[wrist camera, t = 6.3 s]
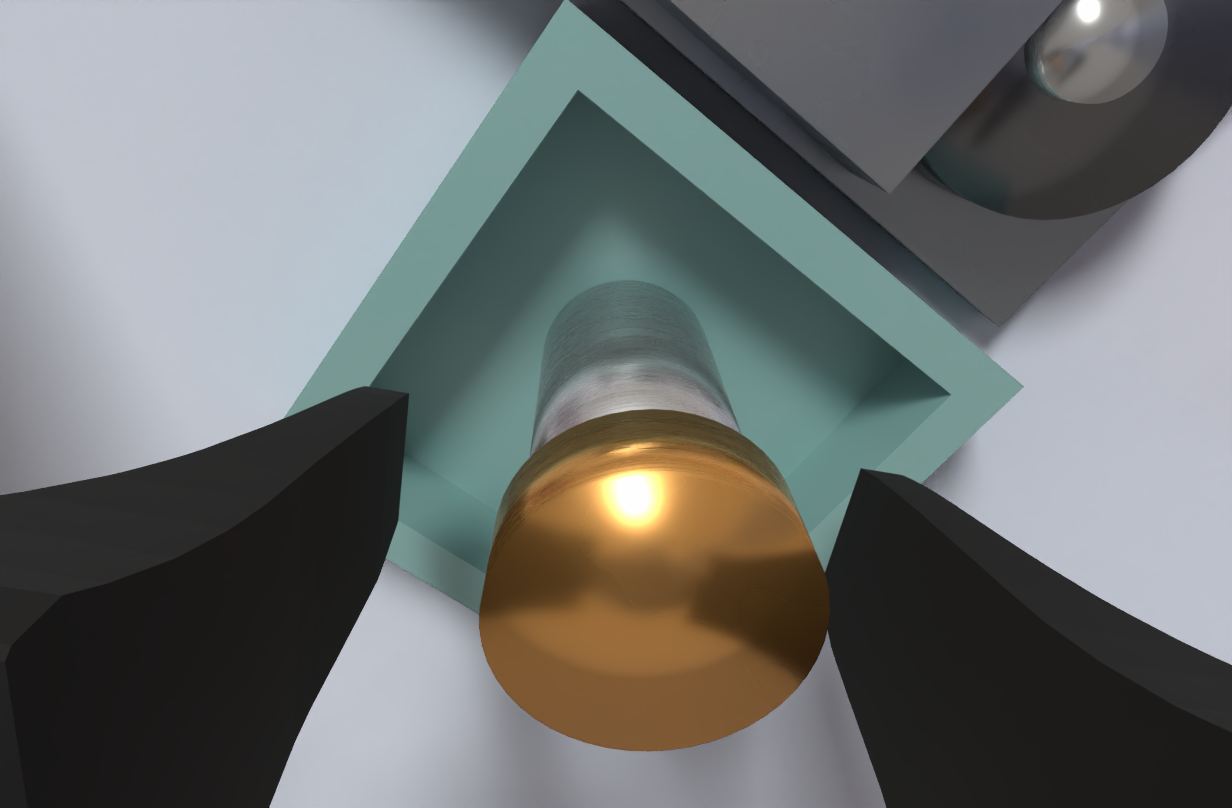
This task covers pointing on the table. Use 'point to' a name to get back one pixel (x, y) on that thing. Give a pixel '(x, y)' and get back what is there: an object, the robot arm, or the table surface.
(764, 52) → the plate
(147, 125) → the table surface
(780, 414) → the tray
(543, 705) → the pin
